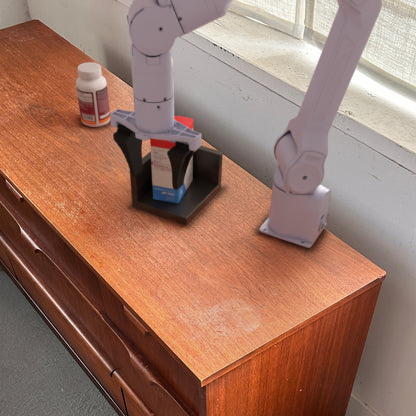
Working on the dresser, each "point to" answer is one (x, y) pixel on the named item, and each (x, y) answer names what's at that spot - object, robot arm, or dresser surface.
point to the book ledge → (195, 194)
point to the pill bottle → (92, 95)
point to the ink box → (168, 168)
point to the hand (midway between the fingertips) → (157, 179)
